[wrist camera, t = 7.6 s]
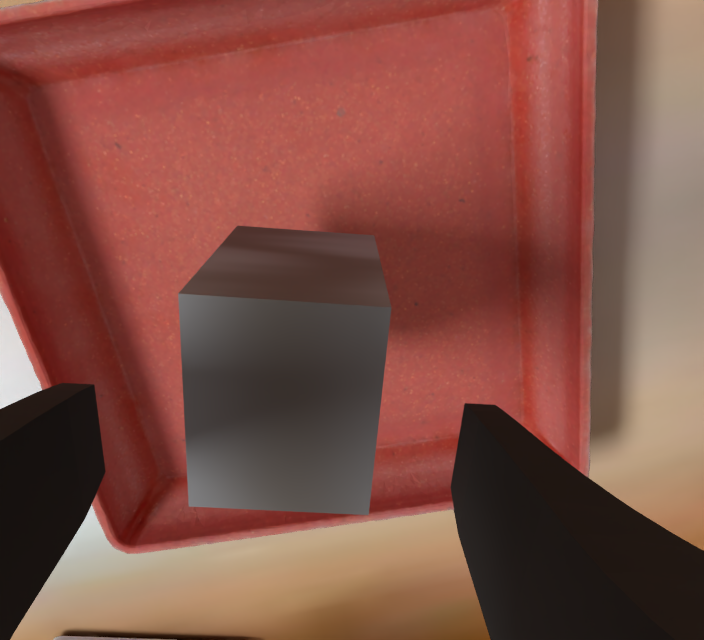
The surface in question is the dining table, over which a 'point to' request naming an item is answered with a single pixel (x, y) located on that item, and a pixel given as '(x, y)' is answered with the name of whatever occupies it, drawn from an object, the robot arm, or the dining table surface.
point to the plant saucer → (302, 216)
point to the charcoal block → (284, 371)
